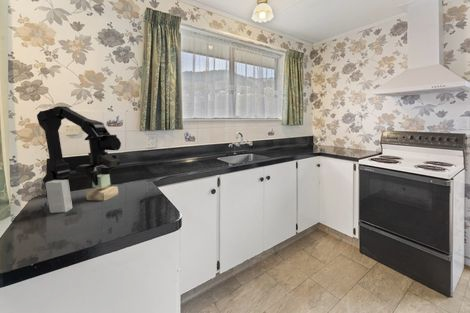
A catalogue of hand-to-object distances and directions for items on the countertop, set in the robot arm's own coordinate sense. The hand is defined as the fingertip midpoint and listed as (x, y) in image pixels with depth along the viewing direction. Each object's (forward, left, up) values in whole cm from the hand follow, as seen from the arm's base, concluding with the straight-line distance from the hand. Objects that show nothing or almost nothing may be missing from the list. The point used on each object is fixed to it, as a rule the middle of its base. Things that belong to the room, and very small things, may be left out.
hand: (101, 183), depth 104 cm
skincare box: (-2, -17, -6) cm, 19 cm away
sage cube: (0, 0, -1) cm, 1 cm away
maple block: (0, 0, -6) cm, 7 cm away
